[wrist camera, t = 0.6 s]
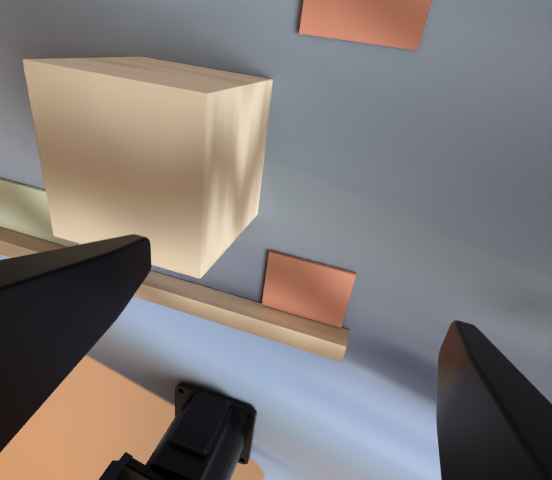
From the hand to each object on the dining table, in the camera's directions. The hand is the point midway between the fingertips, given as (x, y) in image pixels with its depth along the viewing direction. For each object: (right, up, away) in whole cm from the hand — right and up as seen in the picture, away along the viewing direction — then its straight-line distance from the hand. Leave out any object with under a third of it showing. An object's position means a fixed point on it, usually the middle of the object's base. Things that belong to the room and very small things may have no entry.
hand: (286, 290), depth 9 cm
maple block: (-4, +7, +11) cm, 13 cm away
